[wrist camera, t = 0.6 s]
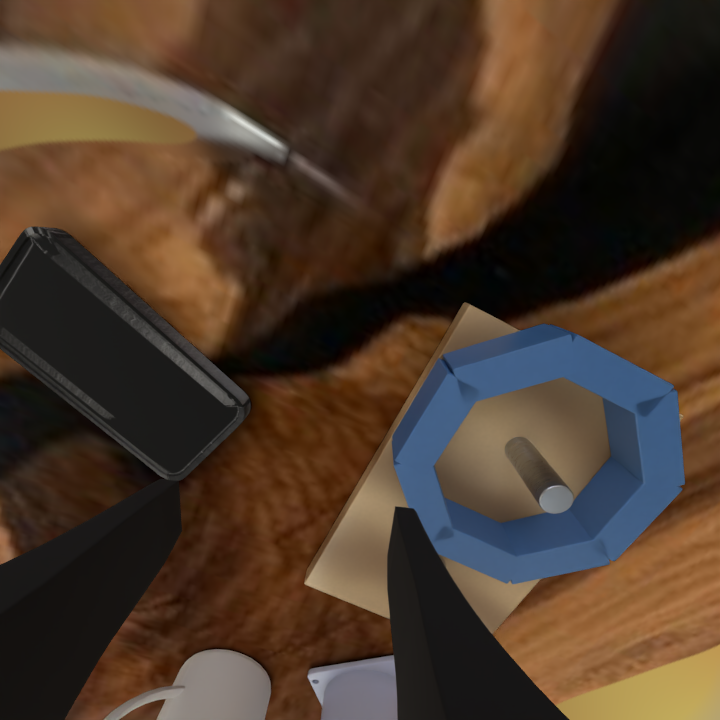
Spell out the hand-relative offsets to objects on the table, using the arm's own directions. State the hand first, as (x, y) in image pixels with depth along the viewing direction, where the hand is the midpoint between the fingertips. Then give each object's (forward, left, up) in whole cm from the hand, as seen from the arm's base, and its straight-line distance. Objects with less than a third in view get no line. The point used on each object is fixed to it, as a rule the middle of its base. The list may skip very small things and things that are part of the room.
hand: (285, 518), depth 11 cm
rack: (-9, -7, -10) cm, 15 cm away
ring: (-6, -10, -9) cm, 15 cm away
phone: (+6, +11, -10) cm, 16 cm away
